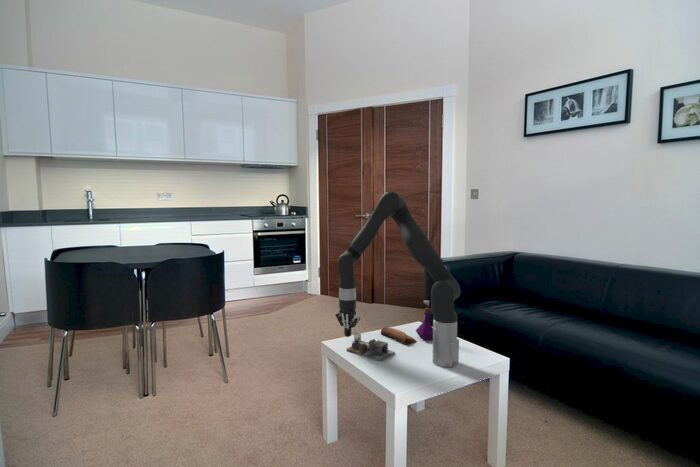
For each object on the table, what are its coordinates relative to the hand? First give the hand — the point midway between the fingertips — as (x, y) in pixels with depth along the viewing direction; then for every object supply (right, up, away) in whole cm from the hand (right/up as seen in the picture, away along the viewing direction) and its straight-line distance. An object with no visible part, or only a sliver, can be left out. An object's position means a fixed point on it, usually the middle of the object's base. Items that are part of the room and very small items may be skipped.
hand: (347, 336), depth 174 cm
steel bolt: (+6, -3, -5) cm, 8 cm away
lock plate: (+10, -5, -8) cm, 13 cm away
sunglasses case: (+24, -4, +10) cm, 26 cm away
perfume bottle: (+36, -4, +9) cm, 38 cm away
